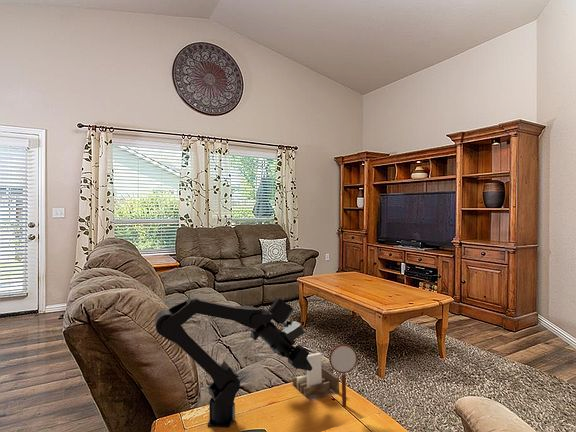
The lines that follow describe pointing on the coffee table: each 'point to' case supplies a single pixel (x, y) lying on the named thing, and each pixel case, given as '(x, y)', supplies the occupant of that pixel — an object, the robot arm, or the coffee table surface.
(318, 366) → the white flat board
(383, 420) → the coffee table surface
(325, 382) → the offcut rack
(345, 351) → the magnifying glass
